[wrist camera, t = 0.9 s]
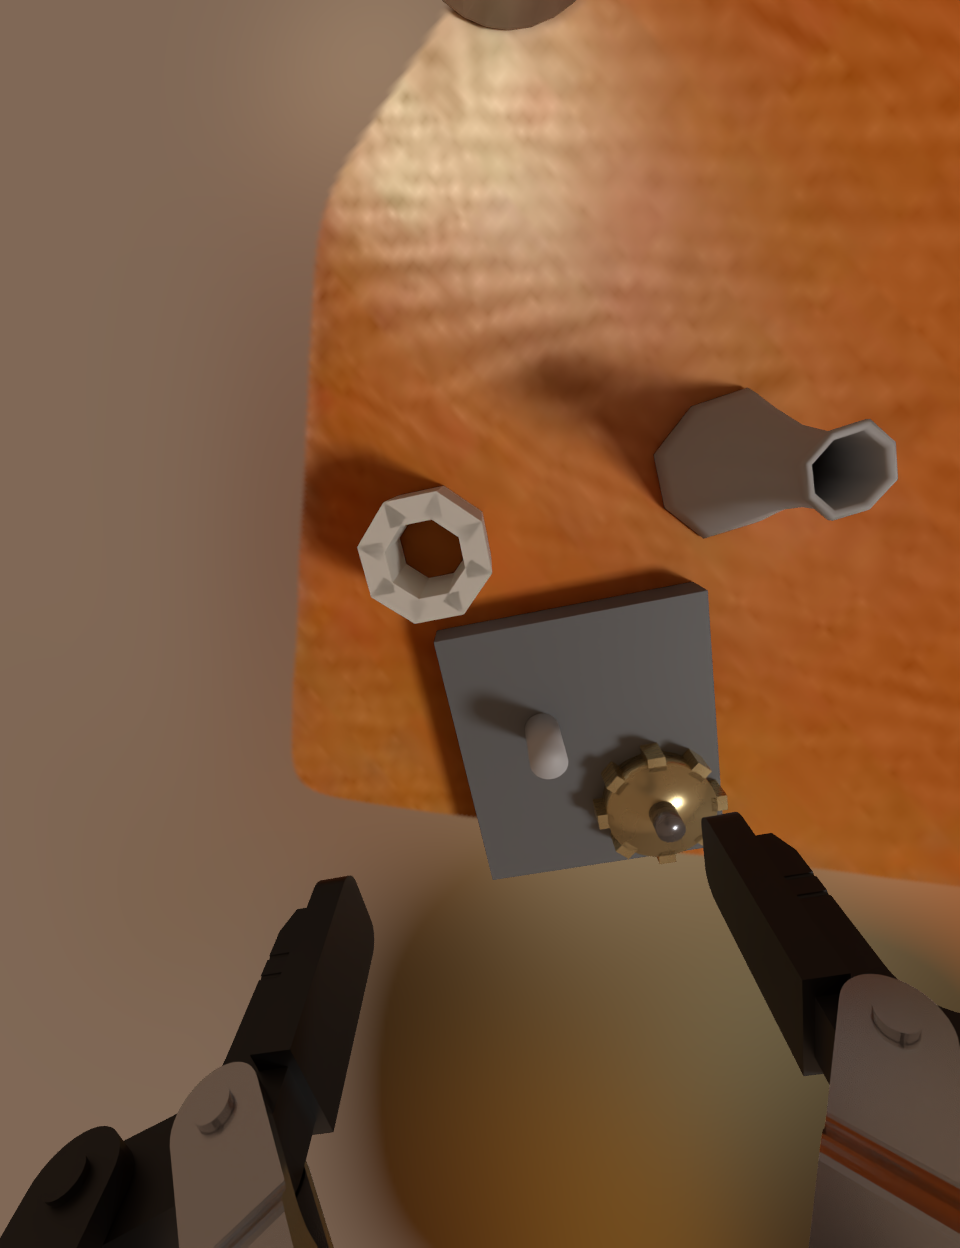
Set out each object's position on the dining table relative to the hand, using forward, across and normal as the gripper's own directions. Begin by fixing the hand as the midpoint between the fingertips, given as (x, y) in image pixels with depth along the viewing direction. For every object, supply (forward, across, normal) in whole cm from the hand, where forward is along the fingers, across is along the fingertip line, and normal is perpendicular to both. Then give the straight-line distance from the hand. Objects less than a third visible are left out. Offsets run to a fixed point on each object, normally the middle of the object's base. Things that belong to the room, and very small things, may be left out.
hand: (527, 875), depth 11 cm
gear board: (+19, -3, +9) cm, 21 cm away
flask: (+20, -13, -6) cm, 24 cm away
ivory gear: (+19, +3, -5) cm, 20 cm away
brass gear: (+17, -7, +13) cm, 22 cm away
